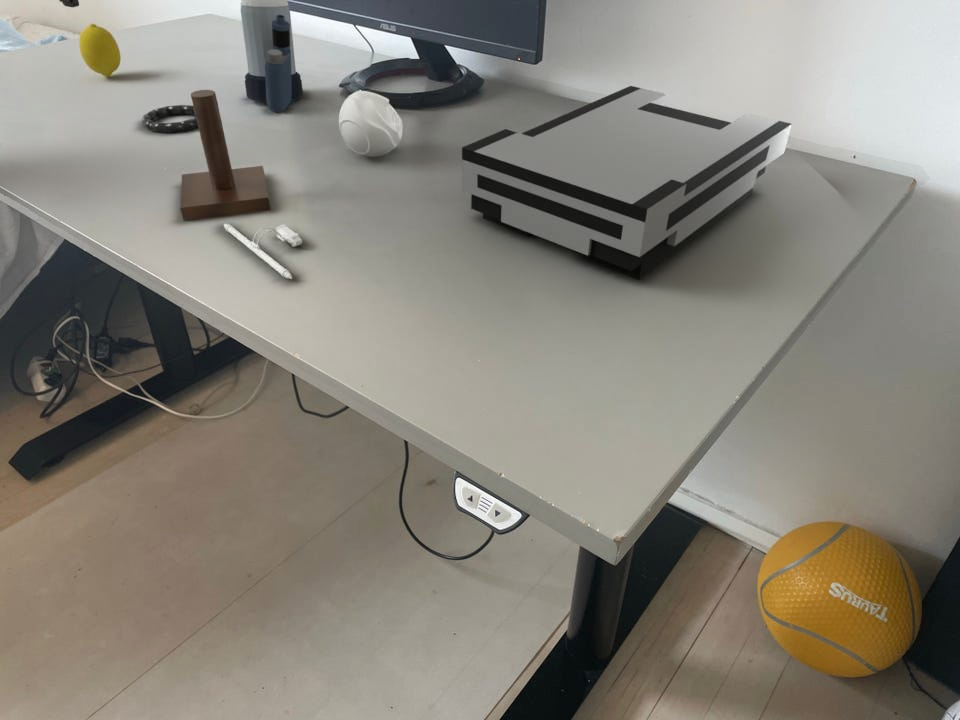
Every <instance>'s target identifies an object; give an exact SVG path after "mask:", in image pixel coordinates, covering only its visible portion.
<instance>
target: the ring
mask: <svg viewBox="0 0 960 720" xmlns="http://www.w3.org/2000/svg"><path fill="white" fill-rule="evenodd" d="M174 115H192V116H195V117H193V118H189V119H186V120H182V121H175V122H159V121H156V120H157V119H159V118H160V119H161V118H163V117H167V116H174ZM141 125H142V126H143V128H146V129H147V130H149V131H152V132H157V133H167V134H169V133H177V132H178V133H179V132H185V131H189V130H192V129H196V128H198V124H197V120H196V115H195V111H194V107H193V105H188V104H177V105H175V104H174V105H166V106H163V107H158V108H155V109H152V110H150V111H148V112H147V113H145V114H143V116H142V119H141Z"/></svg>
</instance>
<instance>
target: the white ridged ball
mask: <svg viewBox="0 0 960 720" xmlns="http://www.w3.org/2000/svg"><path fill="white" fill-rule="evenodd" d="M338 129H339V133H340V136H341V139H342V140H343V142H344V144H346V146H347V147H348V148H349V149H350V150H351V151H353V152H355V153H356V154H359V155H361V156H364V157H373V158H374V157H375V158H377V157H381V156H382V157H383V156H385V155H387V154H389V153H390V152H392V151H393V150H395V149H396V148H397V147H398V145H399V142H401V139H402V137H403V121H402V119H401V117H400V115H399V114H398V112H397V111H396V110H395V108H394V107H393V105H391V104H390V99H389V98H388V97H385V96H383V95H381V94H378V93H376V92H372V91H367V90H356V91H355V92H353V93H351V94H350V95H348V96H347V97H346V98H345V100H344V101H343V103H342V105H341V107H340V110H339V113H338Z"/></svg>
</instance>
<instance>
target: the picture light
mask: <svg viewBox="0 0 960 720" xmlns="http://www.w3.org/2000/svg"><path fill="white" fill-rule="evenodd" d="M223 227H224V229H225V231H226V232H228V233H229V234H231V235H232V236H233V237H234V238H235V239H236V240H238V241H239V242H241V243H242V244H243V245H244V246H246V248H248V249H249V250H250V251H252V252H253V253H254V254H255V255H256V256H258V257H259V258H260V259H261V260H263V261H264V262H265V263H266V264H268V265H269V266H270V267H271V268H273V269H274V270H275V271H276V272H277V273H279V274H280V275H281V276H282V277H283V278H285V279H287V280H293V275H292V274H291V272H290V271H289V270H288V269H287V268H285V267H284V266H283V265H281V264H280V263H279V262H277V261H276V259H275V260H274V258H272V257H271V256H270V255H269V254H267V253H266V252H265V251H263V250H262V248H261V247H260V245H259V242H260V239H262V237H263V236H264V235H265V234H267V233H275V234H276V238H277V239H279V240H280V241H281V242H283V243H286V242H287V243H289V244H290V245H291V246H292V247H293V248H295V247H298V246H301V245H302V244H303V240H302V238H301V237H300V235H299V233H297V232H295V231H293V230H292V229H290V228H289V227H288V226H287V225H286V224H280V225H278V226H277V227H276V228H275V229H274V228H272V227H267V226H266V227H262V228H261V229H259V230H258V231H256V233H255V234H254V236H253V238H252V240H250V239H249V238H247V237H246V236H245V235H243V234H242V233H241V232H240V231H238V230H237V229H236V228H235V227H234V226H232V224H229V223H223ZM266 229H267V231H264V232H263V233H261V235H260V236H259V237H258V239H257V241H256V242H255V239H256V236H257V235H258V234H260V232H261V231H263V230H266ZM268 229H269V230H268Z"/></svg>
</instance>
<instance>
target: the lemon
mask: <svg viewBox="0 0 960 720" xmlns="http://www.w3.org/2000/svg"><path fill="white" fill-rule="evenodd" d="M78 41H79V42H78V44H79V45H78V47H79V52H80V54H81V57H82V59H83V61H84V63H85V64H86V66H87V67H88V68H89V69H90V70H92V71H93V72H94V73H97V74H100V75H102V76H104V77H105V78H111V76H112V74H113V73H114V72H116V71H117V70H118V68H119V67H120V65H121V52H120V48H119V45H118V42H117V41H116V39H115V37H114V35H112V33H111V31H108V30H107V29H106V28H104V27H102V26H98V25H96V24H95V23H90V24H89V25H88V26H87V27H85V28H84V29H83V30H82V31H81V33H80V35H79V40H78Z"/></svg>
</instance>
